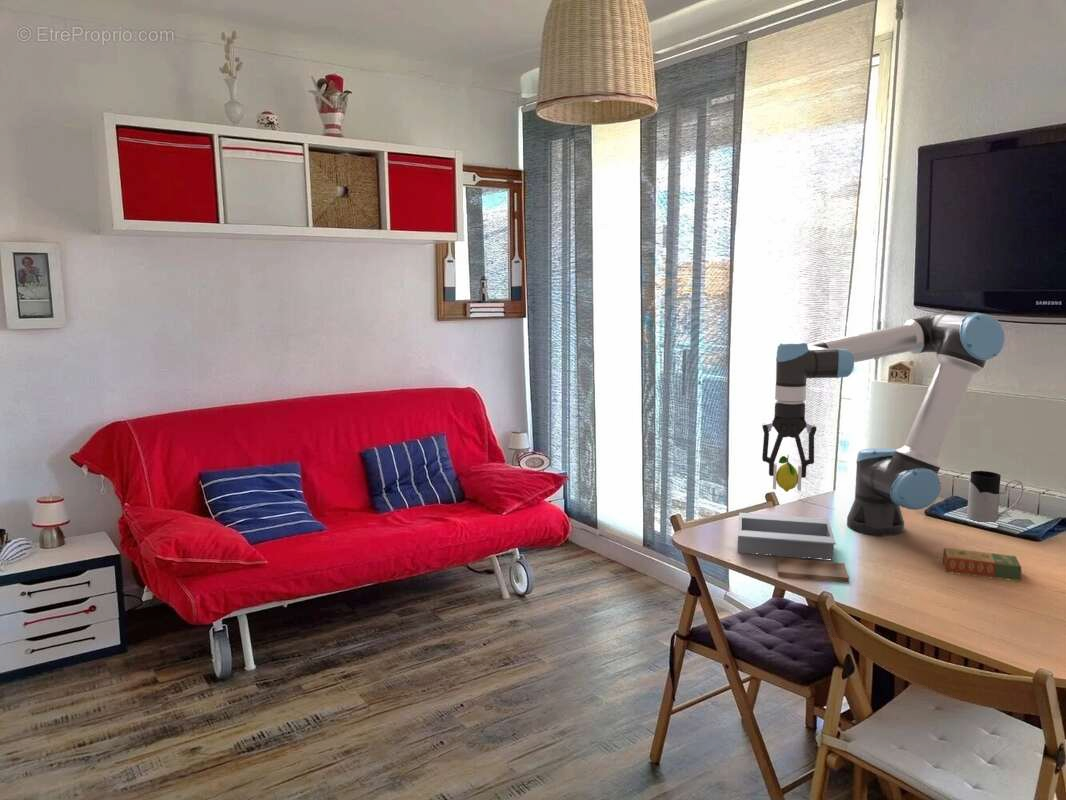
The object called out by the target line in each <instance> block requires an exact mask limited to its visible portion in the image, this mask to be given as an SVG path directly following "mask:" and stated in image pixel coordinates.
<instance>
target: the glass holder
mask: <svg viewBox="0 0 1066 800" xmlns="http://www.w3.org/2000/svg"><path fill="white" fill-rule="evenodd" d="M1012 482H1017V483H1019V484H1020V486H1021V490H1020V493H1019V497H1018V498H1017V500H1016V501H1015V502H1014V504H1012V505H1011V506H1009V507H1008V508H1006V509H1005V510H1003V511H1001V512H1000V513H999V509H1000V508H999V507H1000V506H999V505H1000V499H1001V497H1000V496H1001V495H1004V494H1007V492H1008V486H1009V485H1010V483H1012ZM1000 487H1001V474H999V473H997V472H993V471H986V470H972V471H971V472H970V480H969V485H968V497H967V508H966V511H967V512H966V518H969V519H970V520H973V521H977V522H996V521H997V520H999V519H1000V516H1002V515H1003V514H1005V513H1007V512H1008V511H1010V510H1012V509H1013V508H1014V507H1015V506H1016V505H1017V504H1018V503H1019V502H1020V500H1021V498H1022V496H1023V493H1024V485H1023V482H1021V481H1019V480H1017V479H1011V480H1009V481H1008V482H1007V483H1006V484H1005V487H1004V491H1002V492H1000ZM997 522H998V521H997Z"/></svg>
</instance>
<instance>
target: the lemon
mask: <svg viewBox="0 0 1066 800" xmlns="http://www.w3.org/2000/svg"><path fill="white" fill-rule="evenodd" d="M778 463H779V464H781V465H780V466H779V467H778V468H777V476H776V485H778V487H780V488H781V489H783V490H784V492H786V493H787V492H789V491H790V490H793V489H795V488H796V486H797V483H798V470H797V469H796V467H795V466H794V465H792V463H790V462H789V454H787V457H786V456H785V455H781V457H780V458H779V460H778Z"/></svg>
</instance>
